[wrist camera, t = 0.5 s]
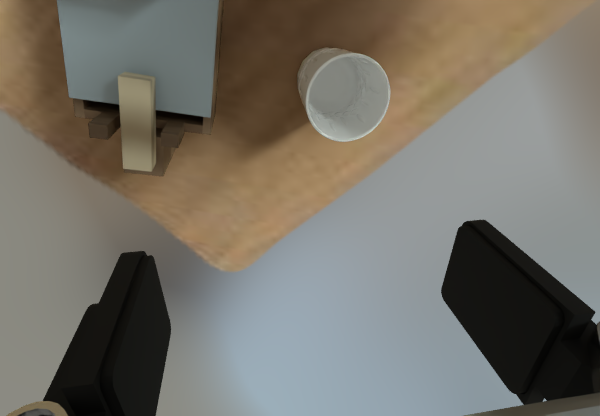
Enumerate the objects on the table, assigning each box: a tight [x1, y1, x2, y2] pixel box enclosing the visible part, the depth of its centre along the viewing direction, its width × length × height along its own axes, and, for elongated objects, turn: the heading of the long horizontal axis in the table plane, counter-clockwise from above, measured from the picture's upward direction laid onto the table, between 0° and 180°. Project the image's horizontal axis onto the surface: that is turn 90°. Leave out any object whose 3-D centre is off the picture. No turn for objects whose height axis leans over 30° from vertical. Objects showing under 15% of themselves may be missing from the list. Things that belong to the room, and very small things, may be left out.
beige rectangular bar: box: [118, 72, 156, 172], centre depth 30 cm, size 8×2×2 cm, turn 169°
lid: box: [57, 0, 219, 118], centre depth 26 cm, size 13×12×6 cm
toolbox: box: [73, 0, 223, 176], centre depth 32 cm, size 20×12×11 cm, turn 169°
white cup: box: [297, 47, 390, 142], centre depth 36 cm, size 8×8×10 cm
